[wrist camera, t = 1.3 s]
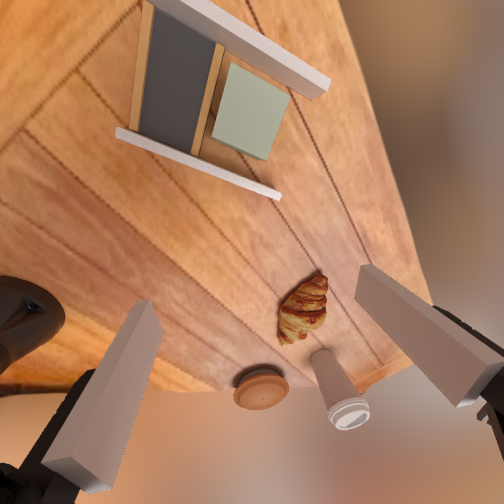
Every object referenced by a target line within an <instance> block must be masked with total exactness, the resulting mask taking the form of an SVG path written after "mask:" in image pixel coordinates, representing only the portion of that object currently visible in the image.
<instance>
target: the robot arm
mask: <svg viewBox="0 0 504 504" xmlns="http://www.w3.org/2000/svg"><path fill="white" fill-rule="evenodd" d="M354 299H355V300H356V301H357V302H358V303H359V305H360V306H361V307H362V308H363V309H364V310H365V311H366V312H367V313H368V314H369V315H370V316H371V317H372V318H373V320H374V321H375V322H376V323H377V324H378V325H379V326H380V327H381V328H382V329H383V330H384V331H385V332H386V333H387V335H388V336H389V337H390V338H391V339H392V340H393V341H394V342H395V343H396V344H397V345H398V346H399V347H400V348H401V350H402V351H403V352H404V353H405V354H406V355H407V356H408V357H409V358H410V359H411V360H412V361H413V362H414V363H415V365H417V367H418V368H419V369H420V370H421V371H422V372H423V373H424V374H425V375H426V376H427V377H428V378H429V379H430V381H431V382H432V383H433V384H434V385H435V386H436V387H437V388H438V389H439V390H440V391H441V392H442V393H443V394H444V396H445V397H446V398H447V399H448V400H449V401H450V402H451V403H452V404H453V405H454V406H455V407H461V406H465V405H469V404H473V403H474V401H475V400H476V399H477V398H478V397H479V395H481V396H482V397H483V398H484V399H485V400H486V401H487V403H486V404H485V405H484V406H483V407H482V409H481V410H480V411H479V412H478V413H477V420H480V421H482V419H483V418H484V417H485V416H486V415H488V417H489V420H488V421H487V424H489V425H491V426H492V429H493V432H494V435H495V438H496V440H497V443H498V446H499V449H500V452H501V454H502V458H503V460H504V349H502V348H501V347H499V346H498V345H496V344H495V343H494V342H492V341H491V340H489V339H488V338H486V337H485V336H483V335H482V334H480V333H479V332H478V331H476V330H473V329H472V327H470V326H469V325H467V324H466V323H464V322H462V321H461V320H460V319H458V318H457V317H455V316H454V315H452V314H451V313H449V312H448V311H445V310H443V309H441V308H439V307H437V306H430V305H429V304H428V303H426V302H425V301H423V300H422V299H421V298H419V297H418V296H416V295H415V294H414V293H412V292H411V291H409V290H408V289H407V288H405V287H404V286H402V285H401V284H400V283H398V282H397V281H395V280H394V279H393V278H391V277H390V276H388V275H387V274H385V273H384V272H383V271H381V270H380V269H378V268H377V267H376V266H374V265H373V264H368V265H361V267H360V272H359V277H358V282H357V287H356V292H355V298H354ZM64 321H65V315H64V311H63V309H62V307H61V305H60V304H59V303H58V301H57V300H56V299H55V298H54V297H53V296H52V295H50V294H49V293H48V292H46V291H45V290H43V289H41V288H40V287H38V286H36V285H34V284H31V283H29V282H26V281H23V280H19V279H15V278H10V277H2V276H0V375H1V374H2V373H3V372H4V371H5V370H6V369H7V368H8V367H9V366H10V365H11V364H12V363H14V362H16V361H17V360H19V359H20V358H22V357H24V356H25V355H27V354H29V353H30V352H32V351H33V350H35V349H36V348H38V347H39V346H41V345H43V344H45V343H46V342H48V341H49V340H50V339H52V338H53V337H54V336H55V334H56V333H57V332H58V331H59V330H60V329H61V328H62V326H63V324H64ZM163 334H164V331H163V329H162V326H161V324H160V322H159V319H158V317H157V315H156V312H155V310H154V308H153V305H152V303H151V301H150V299H148V300H142V301H136V303H135V304H134V306H133V308H132V309H131V311H130V313H129V315H128V316H127V318H126V320H125V321H124V323H123V325H122V326H121V328H120V330H119V331H118V333H117V335H116V336H115V338H114V340H113V342H112V343H111V345H110V347H109V348H108V350H107V352H106V353H105V355H104V357H103V358H102V360H101V362H100V364H99V365H98V367H97V369H91V370H87V371H86V372H85V373H84V374H83V375H82V376H81V377H80V378H79V379H78V380H77V381H76V382H75V383H74V385H73V386H72V388H71V389H70V391H69V392H68V394H67V395H66V397H65V400H64V401H63V402H62V403H61V405H60V406H59V408H58V409H57V412H56V414H54V415H53V417H52V418H51V420H50V422H49V423H48V425H47V426H46V428H45V429H44V431H43V432H42V434H41V435H40V437H39V439H38V440H37V441H36V443H35V445H34V446H33V448H32V449H31V451H30V452H29V454H28V455H27V457H26V458H25V460H24V461H23V463H22V464H21V466H20V467H19V469H17V468H15V467H13V466H11V465H10V464H6V463H0V504H75V500H76V497H77V495H78V493H79V490H80V489H81V490H82V491H84V492H85V493H87V494H92V493H97V492H102V491H105V490H110V489H112V488H113V485H114V482H115V479H116V476H117V473H118V469H119V467H120V464H121V461H122V458H123V455H124V452H125V449H126V445H127V443H128V440H129V436H130V434H131V430H132V427H133V424H134V421H135V418H136V415H137V412H138V409H139V406H140V403H141V400H142V397H143V394H144V391H145V388H146V385H147V382H148V379H149V376H150V373H151V370H152V367H153V364H154V361H155V358H156V355H157V352H158V349H159V346H160V343H161V340H162V337H163Z"/></svg>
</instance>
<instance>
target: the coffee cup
mask: <svg viewBox="0 0 504 504" xmlns="http://www.w3.org/2000/svg"><path fill="white" fill-rule="evenodd" d="M310 361H311V364H312V367H313V370H314V372H315V375H316V378H317V381H318V384H319V387H320V390H321V393H322V396H323V398H324V401H325V404H326V407H327V410H328V413H327V417H328V418H329V420H330V421H331V422H332V423H333V424H334V425H335V426H336V428H338V429H341V430H348V429H352V428H355V427H357V426H360V425H362V424H363V423H365V422H366V421H367V420H368V419H369V417H370V413H369V406H368V403H367V400H366V399H364V398H362V397H361V395H360V394H359V392H358V391H357V389H356V388H355V386H354V385H353V383H352V382H351V380H350V379H349V377H348V376H347V374H346V373H345V372H344V370H343V369H342V367H341V366H340V364H339V363H338V361H337V360H336V358H335V357H334V355H333V354H332V352H331V351H330V350H327V349H323V350H319V351H317V352H315V353H314V354H313V355H312V356H311V358H310Z"/></svg>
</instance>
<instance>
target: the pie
mask: <svg viewBox="0 0 504 504" xmlns="http://www.w3.org/2000/svg"><path fill="white" fill-rule="evenodd" d="M288 391H289V385H288V383H287V382H286V381H285V379H284V378H282V377H281V376H279V375H278V374H277V373H276V372H275V371H274V370H271V369H266V368H263V369H256V370H253V371H251V372H249V373H247V374H246V375H245V376H244V377H243V378H242V379H241V381H240V383H239V386H238V387H237V389H236V390H235V393H234V400H235V402H236V404H237V405H239V406H240V407H243V408H246V409H250V410H262V409H266V408H270V407H272V406H274V405H276V404H277V403H279V402H280V401H281V400H282V399H283V398H284V397H285V396H286V395H287V393H288Z"/></svg>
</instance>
